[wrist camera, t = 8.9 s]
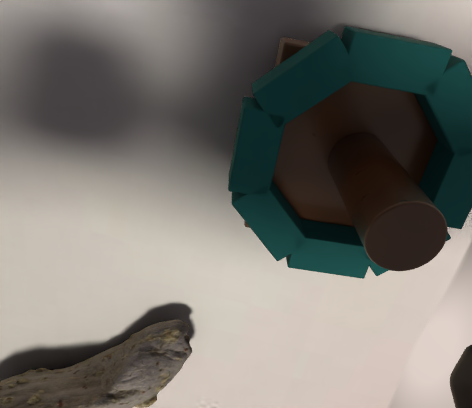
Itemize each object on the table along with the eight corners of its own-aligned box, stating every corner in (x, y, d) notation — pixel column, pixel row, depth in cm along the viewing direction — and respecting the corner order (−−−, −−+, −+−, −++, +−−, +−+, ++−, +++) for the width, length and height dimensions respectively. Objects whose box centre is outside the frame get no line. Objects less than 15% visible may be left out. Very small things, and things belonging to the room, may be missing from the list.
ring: (217, 236, 20) (215, 257, 19) (259, 8, 16) (261, 12, 14) (419, 267, 21) (432, 289, 19) (514, 58, 16) (540, 67, 15)
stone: (185, 318, 22) (219, 407, 22) (178, 286, 28) (205, 357, 28) (-90, 430, 20) (-44, 524, 20) (-33, 369, 26) (1, 443, 27)
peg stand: (243, 211, 21) (246, 322, 14) (280, 36, 17) (307, 76, 11) (403, 236, 22) (476, 353, 15) (472, 72, 18) (609, 132, 11)
